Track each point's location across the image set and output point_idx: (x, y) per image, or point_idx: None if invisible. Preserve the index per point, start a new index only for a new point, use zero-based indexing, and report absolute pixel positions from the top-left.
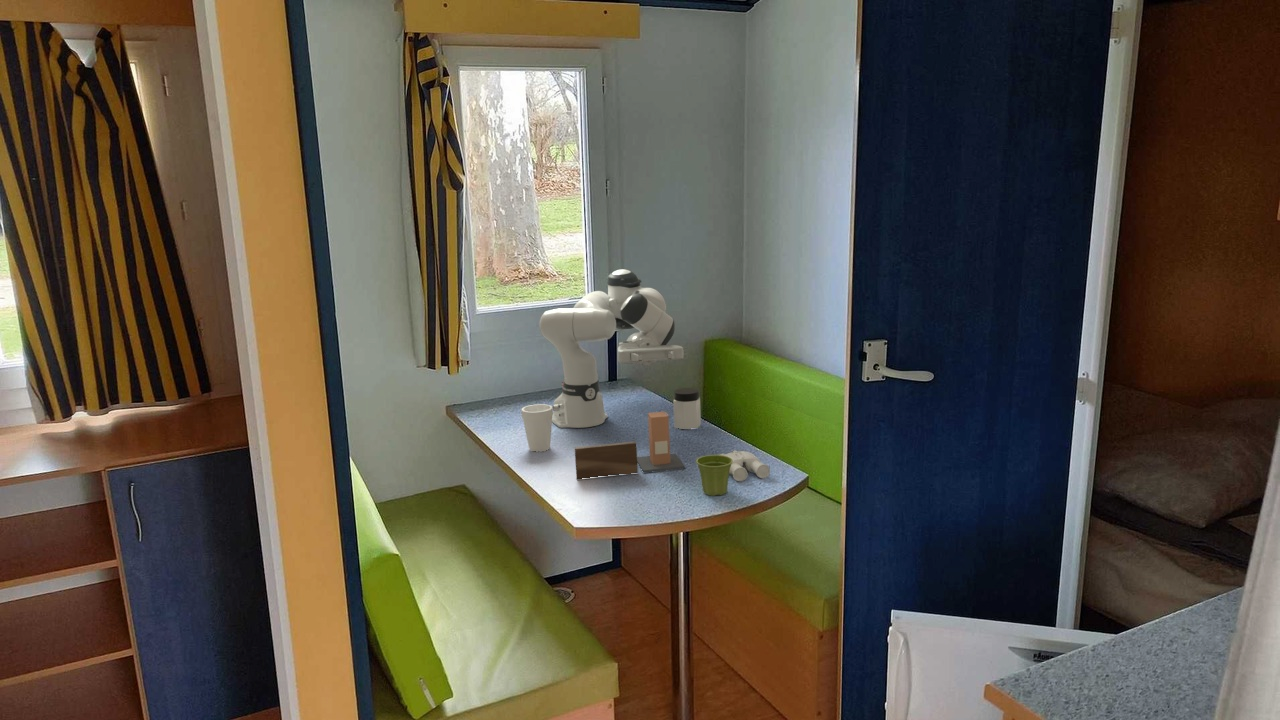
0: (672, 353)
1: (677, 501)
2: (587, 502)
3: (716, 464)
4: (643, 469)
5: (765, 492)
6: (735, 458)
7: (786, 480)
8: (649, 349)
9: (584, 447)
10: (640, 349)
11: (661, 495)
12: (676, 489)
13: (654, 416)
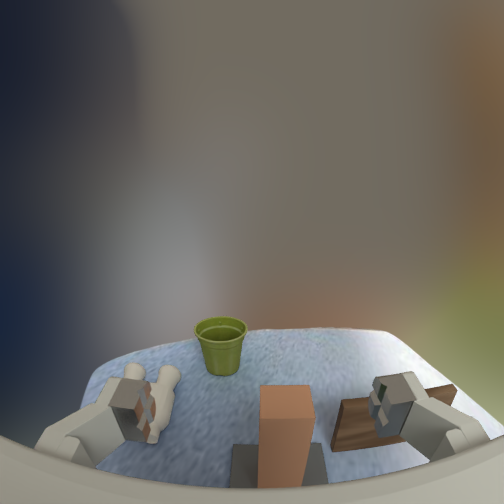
0: (112, 377)
1: (279, 358)
2: (395, 369)
3: (210, 349)
4: (319, 446)
5: (165, 352)
6: (154, 386)
7: (117, 366)
8: (298, 492)
9: (440, 389)
10: (421, 491)
11: (298, 373)
12: (273, 384)
13: (299, 390)
